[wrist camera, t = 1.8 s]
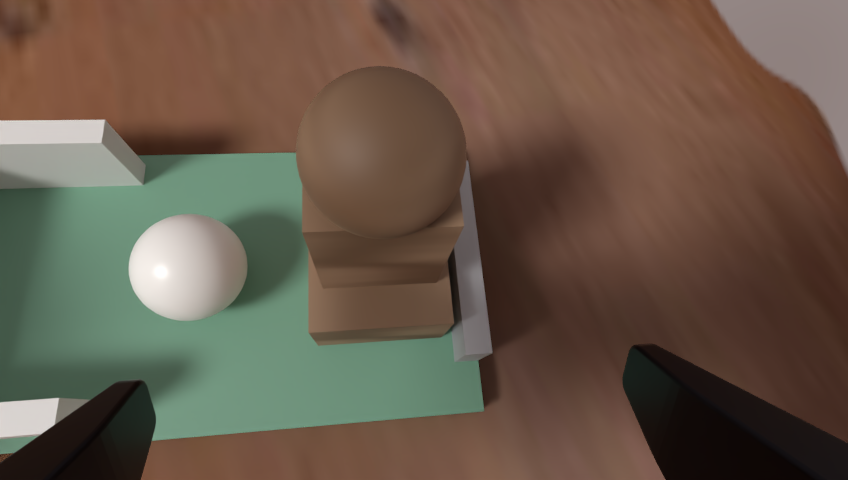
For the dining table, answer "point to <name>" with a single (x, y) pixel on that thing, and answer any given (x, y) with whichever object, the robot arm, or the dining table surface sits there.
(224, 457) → the dining table surface
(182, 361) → the pitch
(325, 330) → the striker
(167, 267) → the ball
